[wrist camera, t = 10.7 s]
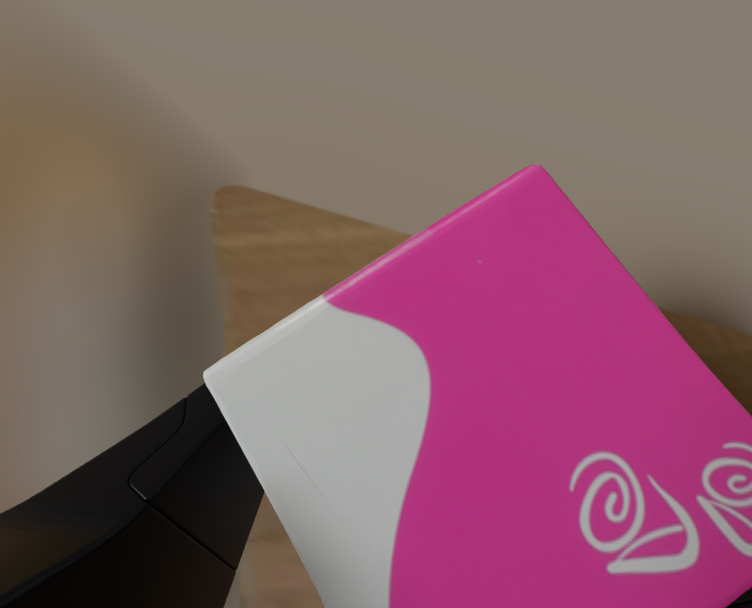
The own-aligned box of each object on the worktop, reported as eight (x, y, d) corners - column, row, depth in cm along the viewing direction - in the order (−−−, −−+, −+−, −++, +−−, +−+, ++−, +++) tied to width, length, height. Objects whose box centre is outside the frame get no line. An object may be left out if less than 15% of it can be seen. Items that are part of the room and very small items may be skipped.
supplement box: (398, 448, 14) (427, 892, 3) (339, 350, 15) (172, 355, 4) (491, 386, 14) (893, 539, 3) (426, 294, 15) (529, 130, 4)
